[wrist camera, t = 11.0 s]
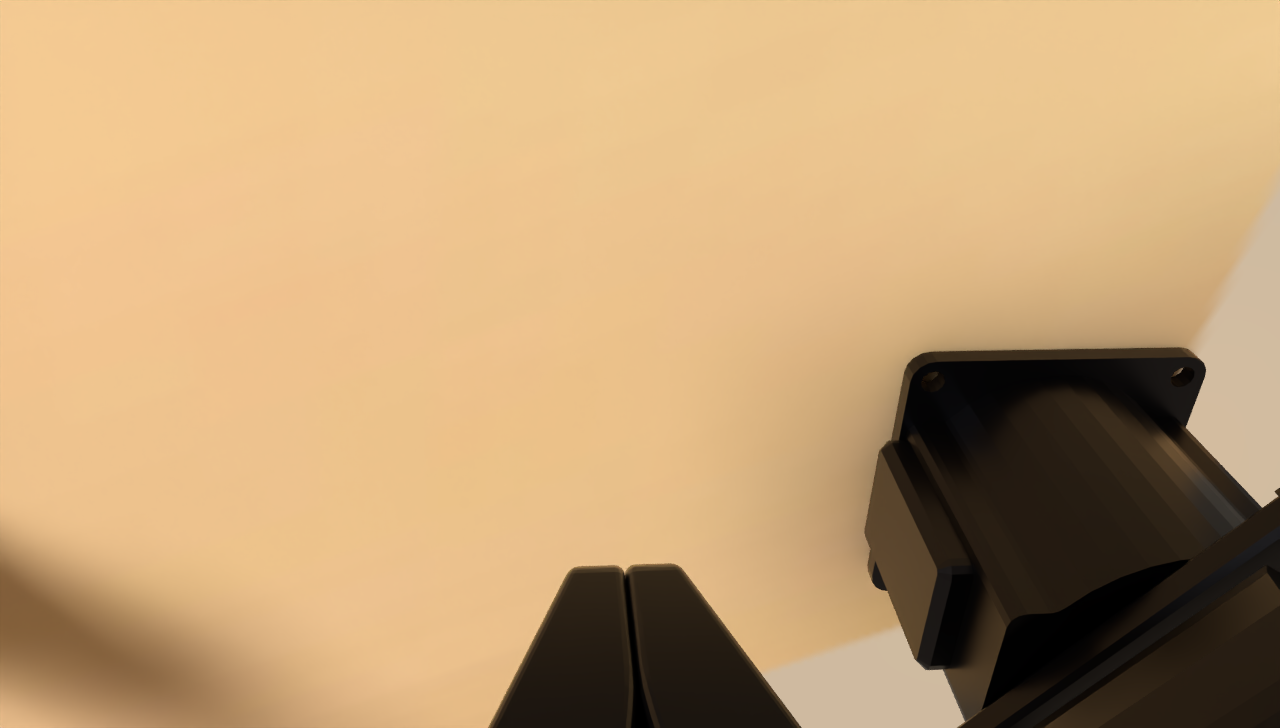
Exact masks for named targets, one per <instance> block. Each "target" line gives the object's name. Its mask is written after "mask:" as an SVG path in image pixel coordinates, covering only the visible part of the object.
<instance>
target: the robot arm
mask: <svg viewBox="0 0 1280 728" xmlns="http://www.w3.org/2000/svg"><path fill="white" fill-rule="evenodd" d="M1183 367H1184V368H1183ZM1180 368H1183V370H1182V371H1181V372H1180V373H1179V374H1177V375H1176V376H1173V377H1172V375H1173V374H1174V372H1175V371H1177V370H1178V369H1180ZM935 371H936V372H939V373H938V374H937V376H936V377H935V378H934V379H933V380H931V381H928V382H922V379H923V377H924V376H926V375H927V374H928V373H931V372H935ZM1205 373H1206V368H1205V365H1204V363H1203V362H1202V361H1201V360H1200V359H1199V358H1198V357H1197V356H1196V355H1195V354H1194V353H1192V352H1191V351H1190V350H1188V349H1185V348H1129V349H1071V350H1012V351H953V352H928V353H922V354H920V355H919V356H917V357H915V358H913V359H912V360H911V362H910V363H909V364H908V365H907V367H906V369H905V372H904V377H903V382H902V387H901V392H900V397H899V403H898V408H897V413H896V418H895V424H894V429H893V434H892V439H891V441H888V442H886V444H885V445H884V446H883V447H882V448H881V449H880V451H879V455H878V460H877V466H876V471H875V477H874V482H873V488H872V493H871V498H870V504H869V509H868V515H867V520H866V526H865V536H866V539H867V541H868V544H869V546H870V549H871V550H870V555H869V560H868V572H869V575H870V577H871V580H872V582H873V584H874V585H875V587H877V588H879V589H881V590H885V591H888V594H889V596H890V599H891V601H892V604H893V606H894V609H895V611H896V614H897V616H898V619H899V621H900V624H901V626H902V629H903V631H904V634H905V636H906V639H907V641H908V644H909V646H910V648H911V651H912V654H913V656H914V658H915V660H916V661H917V662H918V663H919V664H920V665H921V666H922V667H923V668H924V669H925V670H939V669H943V671H944V673H945V676H946V678H947V680H948V683H949V685H950V687H951V689H952V692H953V694H954V697H955V699H956V701H957V704H958V706H959V708H960V711H961V713H962V715H963V718H964V720H965V722H964V723H963V724H961V725H960V726H959V727H957V728H1280V488H1279V489H1277V490H1276V491H1275V493H1276V494H1277V495H1278V497H1277V498H1276V499H1274V500H1273V501H1271V502H1270V503H1269V504H1267V505H1266V506H1264V507H1263V508H1262V507H1261V506H1260V505H1259V504H1258V503H1257V502H1256V501H1255V500H1254V499H1253V498H1252V497H1251V496H1250V495H1249V494H1248V492H1247V491H1246V490H1245V489H1244V488H1243V487H1242V486H1241V485H1240V484H1239V483H1238V482H1237V481H1236V480H1235V479H1234V478H1233V477H1232V476H1231V475H1230V474H1229V473H1228V472H1227V471H1226V470H1225V468H1224V467H1223V466H1222V465H1220V463H1219V462H1218V461H1217V460H1216V459H1215V458H1214V457H1213V456H1212V455H1211V454H1210V453H1209V452H1208V451H1207V450H1206V449H1205V448H1204V446H1202V444H1201V443H1200V442H1199V441H1198V440H1197V439H1196V438H1195V437H1194V436H1193V435H1192V434H1191V433H1190V432H1189V431H1188V430H1187V429H1186V425H1187V423H1188V420H1189V417H1190V414H1191V412H1192V409H1193V406H1194V404H1195V401H1196V399H1197V396H1198V393H1199V391H1200V388H1201V385H1202V383H1203V380H1204V377H1205ZM488 728H801V726H799V724H798V722H797V721H796V720H795V718H794V717H793V716H792V714H791V713H790V712H789V710H788V709H787V708H786V707H785V705H784V704H783V702H782V701H781V700H780V698H779V697H778V696H777V694H776V693H775V692H774V690H773V689H772V688H771V686H770V685H769V684H768V682H767V681H766V680H765V678H764V677H763V676H762V674H761V673H760V672H759V670H758V669H757V668H756V666H755V665H754V664H753V662H752V661H751V660H750V658H749V657H748V656H747V654H746V653H745V652H744V650H743V649H742V648H741V646H740V645H739V644H738V642H737V641H736V640H735V638H734V637H733V636H732V634H731V633H730V632H729V630H728V629H727V628H726V626H725V625H724V624H723V622H722V621H721V620H720V618H719V617H718V616H717V614H716V613H715V612H714V610H713V609H712V608H711V606H710V605H709V604H708V602H707V601H706V600H705V598H704V597H703V596H702V594H701V593H700V592H699V590H698V589H697V588H696V586H695V585H694V584H693V582H692V581H691V580H690V578H689V577H688V576H687V574H686V573H685V572H684V571H683V569H682V568H681V567H679V566H678V565H675V564H641V565H631V566H630V567H629V568H628V569H627V571H626V572H625V574H624V571H623V570H622V568H620V567H619V566H615V565H610V566H581V567H575V568H573V569H571V570H570V571H569V572H568V574H567V575H566V577H565V579H564V581H563V583H562V585H561V587H560V588H559V590H558V592H557V594H556V596H555V598H554V600H553V602H552V604H551V606H550V608H549V610H548V612H547V614H546V616H545V618H544V620H543V622H542V624H541V626H540V628H539V630H538V631H537V633H536V635H535V637H534V639H533V641H532V643H531V645H530V647H529V649H528V651H527V653H526V655H525V657H524V659H523V661H522V663H521V665H520V667H519V669H518V671H517V673H516V674H515V676H514V678H513V680H512V682H511V684H510V686H509V688H508V690H507V692H506V694H505V696H504V698H503V700H502V702H501V704H500V706H499V708H498V710H497V712H496V714H495V716H494V718H493V719H492V721H491V723H490V725H489V727H488Z"/></svg>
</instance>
